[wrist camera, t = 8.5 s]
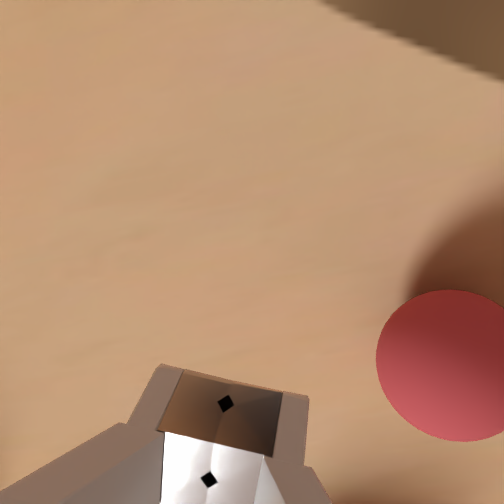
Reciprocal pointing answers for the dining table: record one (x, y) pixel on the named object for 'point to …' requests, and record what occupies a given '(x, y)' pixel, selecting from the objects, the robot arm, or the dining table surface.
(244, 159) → the dining table surface
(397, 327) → the red rubber ball
